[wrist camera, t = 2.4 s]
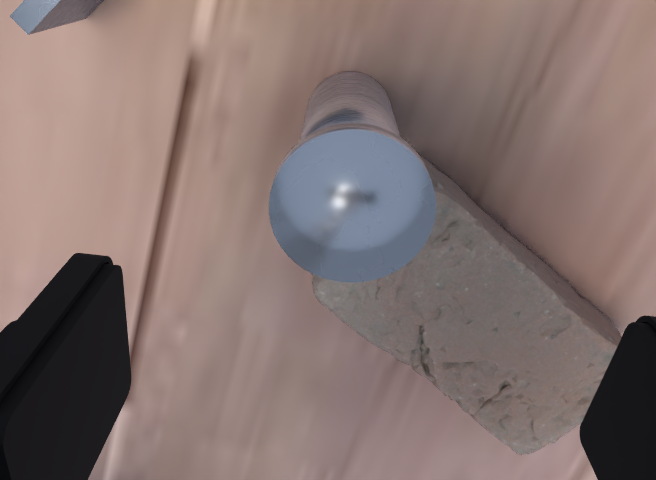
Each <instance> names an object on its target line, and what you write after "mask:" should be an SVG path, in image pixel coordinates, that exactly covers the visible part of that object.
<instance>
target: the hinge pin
mask: <svg viewBox="0 0 656 480" xmlns="http://www.w3.org/2000/svg"><path fill="white" fill-rule="evenodd" d="M435 215H436V198H435V191H434V188H433V184H432V181H431V178H430V176H429V173H428V171H427V168H426V166H425V164H424V162H423V160H422V159H421V157H420V156H419V154H418V153H417V152H416V151H415V150H414V148H413V147H412V146H411V145H410V144H408V143H407V142H406V141H405V140H404V139H402V138H401V137H400V134H399V130H398V127H397V124H396V120H395V117H394V113H393V110H392V107H391V103H390V100H389V97H388V95H387V93H386V91H385V90H384V88H383V87H382V86H381V85H380V84H379V83H378V82H377V81H376V80H374V79H373V78H372V77H370V76H368V75H366V74H363V73H359V72H350V71H348V72H341V73H337V74H334V75H332V76H330V77H328V78H326V79H325V80H323V81H322V82H321V83H320V84H319V85H318V86H317V87H316V89H315V90H314V91H313V93H312V95H311V97H310V99H309V103H308V107H307V111H306V115H305V120H304V124H303V128H302V133H301V137H300V141H299V142H298V143H297V144H296V145H295V146H294V147H292V149H291V150H290V151H289V152H288V153H287V155H286V156H285V157H284V159H283V161H282V162H281V164H280V166H279V168H278V170H277V172H276V175H275V179H274V182H273V186H272V189H271V192H270V199H269V216H270V222H271V226H272V229H273V232H274V234H275V237H276V239H277V241H278V242H279V244H280V246H281V247H282V249H283V250H284V251H285V252H286V254H287V255H288V256H289V257H290V258H291V259H292V260H293V261H294V262H295V263H296V264H298V265H299V266H301V267H302V268H303V269H305V270H307V271H309V272H310V273H312V274H314V275H317V276H319V277H322V278H325V279H328V280H332V281H338V282H349V283H355V282H365V281H371V280H375V279H379V278H382V277H385V276H387V275H389V274H392V273H393V272H395V271H397V270H399V269H401V268H402V267H403V266H405V265H406V264H407V263H409V262H410V261H411V260H412V259H413V258H414V257H415V256H416V255H417V254H418V253H419V251H420V250H421V249H422V248H423V246H424V245H425V243H426V241H427V240H428V238H429V235H430V233H431V231H432V228H433V225H434V221H435Z"/></svg>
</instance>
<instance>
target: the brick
mask: <svg viewBox="0 0 656 480" xmlns="http://www.w3.org/2000/svg"><path fill="white" fill-rule="evenodd" d="M420 157H421V156H420ZM421 159H422V160H423V162H424V164H425V166H426V168H427V171H428V173H429V176H430V178H431V181H432V184H433V188H434V191H435V198H436V215H435V221H434V225H433V228H432V231H431V233H430V235H429V238H428V240H427V241H426V243H425V245H424V246H423V248H422V249H421V250H420V251H419V253H418V254H417V255H416V256H415V257H414V258H413V259H412V260H411V261H410V262H409V263H407V264H406V265H405V266H403V267H402V268H401V269H399V270H397V271H395V272H393V273H392V274H389V275H387V276H385V277H382V278H379V279H375V280H371V281H365V282H355V283H349V282H338V281H332V280H328V279H325V278H322V277H319V276H317V275H314V274H312V275H313V281H312V284H313V290H314V294H315V296H316V298H317V299H318V301H319V302H320V303H321V304H322V305H324V306H325V307H326V308H328V309H329V310H330V311H332V312H333V313H334V314H335V315H336V316H337V317H339V318H340V319H341V320H342V321H343V322H344V323H345V324H347V325H348V326H350V327H351V328H352V329H354V330H355V331H356V332H357V333H358V334H360V335H361V336H362V337H364V338H365V339H366V340H368V341H369V342H371V343H372V344H374V345H375V346H377V347H379V348H381V349H383V350H385V351H387V352H389V353H391V354H392V355H393V356H394V357H395V358H396V359H397V360H399V361H401V362H403V363H405V364H408V365H411V366H412V368H413V369H414V370H415V371H416V372H417V373H419V374H420V375H422V376H424V377H426V378H427V379H428V380H430V381H431V382H432V383H433V384H434V385H435V386H436V387H437V388H438V389H439V390H440V391H441V392H442V393H443V394H444V395H445V396H448V397H449V398H450V399H451V400H456V402H457V403H458V404H459V406H460V407H461V408H462V409H463V410H464V411H465V412H467V413H469V414H470V415H471V416H472V417H473V418H474V419H475V420H476V421H477V422H478V423H479V424H480V425H481V426H483V427H484V428H485V429H486V430H487V431H489V432H490V433H491V434H493V435H494V436H495V437H497V438H498V439H499V440H501V441H502V442H503V443H505V444H506V445H507V446H509V447H510V448H511V449H512V450H513V451H515V452H516V453H517V454H521V455H522V454H529V453H532V452H535V451H537V450H539V449H541V448H543V447H544V446H546V445H547V444H549V443H555V442H556V441H557V440H558V439H559V438H560V437H562V436H563V435H565V434H566V433H568V432H569V431H571V430H572V429H573V428H575V427H576V426H577V425H579V424H580V423H582V421H583V419H584V416H585V414H586V412H587V410H588V408H589V406H590V404H591V402H592V399H593V397H594V395H595V393H596V391H597V389H598V387H599V385H600V382H601V380H602V378H603V376H604V374H605V372H606V370H607V368H608V365H609V363H610V361H611V359H612V357H613V355H614V353H615V351H616V348H617V346H618V344H619V342H620V340H621V338H622V337H621V335H620V333H619V332H618V330H617V329H616V328H615V327H614V326H613V324H612V323H611V321H610V320H609V319H608V318H607V317H606V316H605V315H604V314H602V313H601V312H600V311H598V310H597V309H596V308H595V307H594V306H593V305H592V304H591V303H590V302H589V301H588V300H586V299H583V298H581V297H579V295H578V294H577V293H576V292H575V291H574V290H573V288H572V286H571V284H570V283H569V282H567V281H566V280H564V279H562V278H561V277H560V276H559V275H558V274H556V273H555V272H554V271H553V270H552V269H551V268H550V267H549V266H548V265H547V264H546V263H544V262H543V261H542V260H540V259H539V258H538V257H537V256H536V255H535V254H534V253H532V252H530V251H529V250H528V249H527V248H526V247H525V246H524V245H523V244H522V243H520V242H519V241H518V240H516V239H515V238H514V237H512V236H511V235H510V234H509V233H508V232H506V231H505V230H504V229H503V228H502V227H501V226H500V225H499V224H498V223H497V222H496V221H495V220H494V219H493V218H492V217H490V216H489V215H487V214H486V213H485V212H484V211H483V210H482V209H480V208H479V207H478V206H477V205H476V204H475V203H474V202H473V201H472V200H471V199H470V198H469V197H468V196H467V195H466V194H465V193H464V191H463V190H462V189H461V188H460V187H459V186H458V185H457V184H456V183H455V182H454V181H453V180H451V179H450V178H449V177H447V176H446V175H444V174H443V173H442V172H440V171H439V170H438V169H437V168H436V167H435V166H434V165H432V164H431V163H430V162H428V161H427V160H426V159H425V158H423V157H421Z"/></svg>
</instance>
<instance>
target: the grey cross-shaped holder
mask: <svg viewBox="0 0 656 480" xmlns="http://www.w3.org/2000/svg"><path fill="white" fill-rule="evenodd" d="M102 1H103V0H24V1H23V2H22V3H21V4H20V6H19V7H18V8H17V9H16V10H15V11H14V12H13V13H12V14H11V16H10V17H11V18H12V19H13V20H14V21H15V22H16V23H17V24H18V25H19V26H20V27H21V28H22V29H23V30H24V31H25V32H26V33H27V34H28V35H29V34H33V33H36V32H40V31H44V30H47V29H51V28H54V27H58V26H61V25H65V24H69V23H72V22H76V21H79V20H83V19H86V18H87V17H88V16H89V15H90V14H91V13H92V12H93V11H94V10H95V8H96V7H97V6H98V5H99V4H100V3H101V2H102Z"/></svg>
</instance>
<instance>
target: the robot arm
mask: <svg viewBox="0 0 656 480" xmlns="http://www.w3.org/2000/svg"><path fill="white" fill-rule="evenodd" d="M130 385H131V368H130V356H129V344H128V332H127V321H126V309H125V297H124V285H123V274H122V269H121V267H120V266H119V265H113V262H112V260H111V258H110V257H109V256H101V255H92V254H83V253H75V254H74V255H73V256H72V257H71V258H70V259H69V260H68V262H67V263H66V264H65V265H64V266H63V267H62V268H61V270H60V271H59V272H58V273H57V274H56V275H55V277H54V278H53V279H52V280H51V281H50V282H49V284H48V285H47V286H46V287H45V288H44V289H43V291H42V292H41V293H40V294H39V295H38V296H37V298H36V299H35V300H34V301H33V302H32V303H31V304H30V306H29V307H28V308H27V309H26V310H25V311H24V313H23V314H22V315H21V316H20V317H19V318H18V320H16V321H13V322H11V323H10V324H8V325H7V326H6V327H5V328H4V329H3V330H2V331H1V333H0V480H88V478H89V475H90V473H91V471H92V469H93V467H94V465H95V463H96V461H97V459H98V457H99V455H100V453H101V450H102V448H103V446H104V444H105V442H106V440H107V438H108V436H109V434H110V432H111V430H112V428H113V425H114V423H115V421H116V419H117V417H118V415H119V413H120V411H121V409H122V407H123V405H124V402H125V400H126V398H127V396H128V393H129V390H130ZM580 440H581V443H582V446H583V448H584V450H585V453H586V455H587V457H588V459H589V461H590V463H591V466H592V468H593V470H594V472H595V474H596V477H597V479H598V480H656V317H653V316H642V317H640V318H639V319H638V320H637V321H636V322H633V323H630V324H629V325H628V326H627V328H626V329H625V331H624V334H623V336H622V338H621V340H620V342H619V344H618V346H617V348H616V351H615V353H614V355H613V357H612V359H611V361H610V363H609V365H608V368H607V370H606V372H605V374H604V376H603V378H602V380H601V382H600V385H599V387H598V389H597V391H596V393H595V395H594V397H593V399H592V402H591V404H590V406H589V408H588V410H587V412H586V414H585V416H584V419H583V421H582V423H581V426H580Z"/></svg>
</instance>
